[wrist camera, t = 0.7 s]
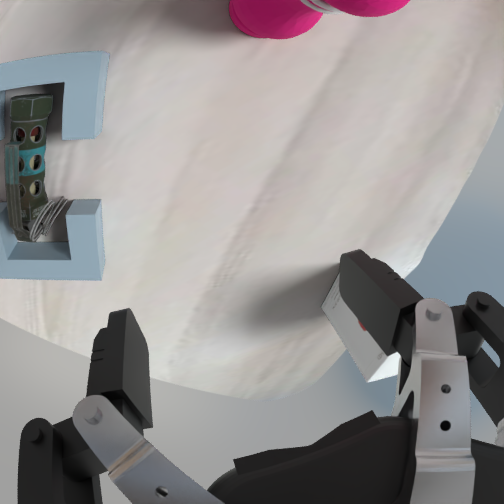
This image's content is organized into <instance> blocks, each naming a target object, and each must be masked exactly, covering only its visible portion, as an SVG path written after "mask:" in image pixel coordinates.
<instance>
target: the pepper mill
mask: <svg viewBox="0 0 504 504" xmlns="http://www.w3.org/2000/svg"><path fill="white" fill-rule="evenodd" d="M409 1H410V0H230V3H229V13H230V17H231V19H232V21H233V23H234V24H235V25H236V27H237V28H239V29H240V30H241V31H242V32H244V33H246V34H248V35H250V36H253V37H257V38H271V39H288V38H293V37H295V36H298V35H300V34H302V33H305V32H307V31H308V30H309V29H311V28H312V27H313V26H314V25H315V24H316V23H317V22H318V21H319V20H320V18H321V16H322V15H323V13H326V14H341V13H349V14H352V15H355V16H361V17H378V16H383V15H387V14H390V13H393V12H395V11H397V10H399V9H401V8H402V7H404V6H405V5H406V4H407V3H408V2H409Z"/></svg>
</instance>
